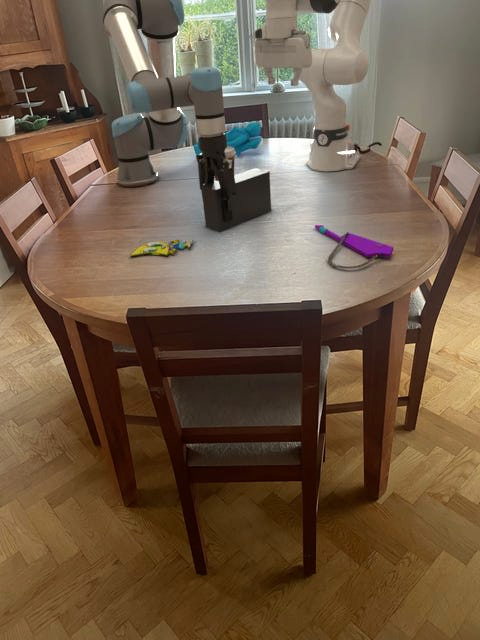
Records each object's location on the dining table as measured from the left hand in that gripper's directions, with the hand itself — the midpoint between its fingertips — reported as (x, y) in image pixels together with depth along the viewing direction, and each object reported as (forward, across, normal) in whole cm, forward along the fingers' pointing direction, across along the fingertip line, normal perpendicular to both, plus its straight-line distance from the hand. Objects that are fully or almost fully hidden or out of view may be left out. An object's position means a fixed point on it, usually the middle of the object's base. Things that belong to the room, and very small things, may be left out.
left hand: (220, 217), depth 138 cm
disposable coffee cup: (+3, +30, -26) cm, 39 cm away
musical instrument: (+3, -37, -9) cm, 38 cm away
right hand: (-30, +5, -31) cm, 44 cm away
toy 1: (+3, 0, +20) cm, 21 cm away
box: (+3, 0, -7) cm, 7 cm away
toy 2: (+3, +62, -54) cm, 82 cm away
